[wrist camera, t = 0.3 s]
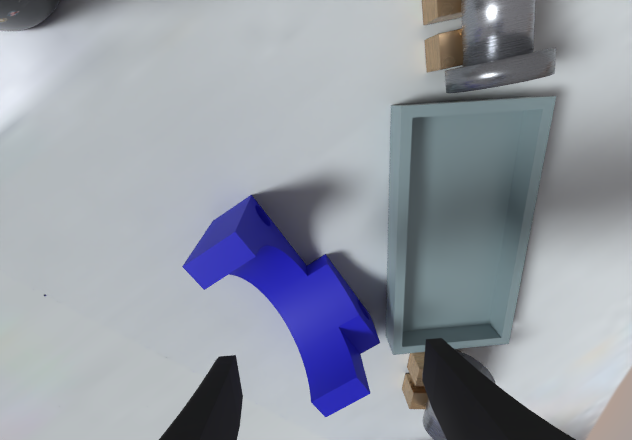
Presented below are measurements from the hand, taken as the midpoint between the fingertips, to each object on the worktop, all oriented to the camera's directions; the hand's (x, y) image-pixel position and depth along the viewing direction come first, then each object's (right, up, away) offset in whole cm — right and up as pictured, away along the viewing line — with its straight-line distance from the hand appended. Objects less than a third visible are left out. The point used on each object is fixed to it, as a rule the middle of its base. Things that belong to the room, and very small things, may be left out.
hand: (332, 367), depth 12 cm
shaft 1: (+7, +15, +5) cm, 18 cm away
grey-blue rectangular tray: (+8, +5, +9) cm, 13 cm away
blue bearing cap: (-2, +2, +10) cm, 10 cm away
